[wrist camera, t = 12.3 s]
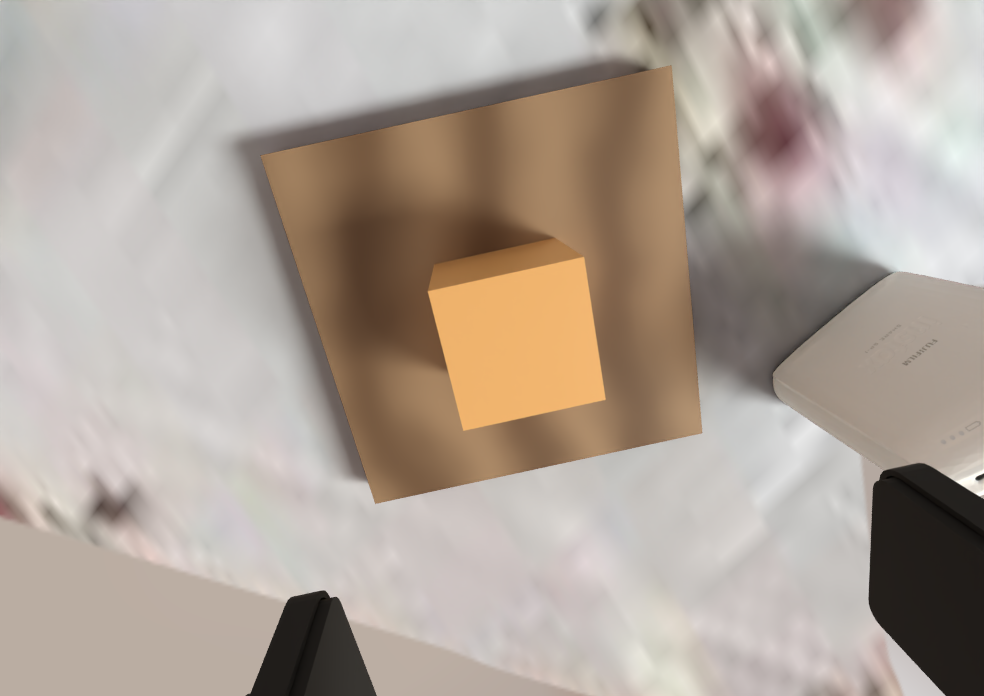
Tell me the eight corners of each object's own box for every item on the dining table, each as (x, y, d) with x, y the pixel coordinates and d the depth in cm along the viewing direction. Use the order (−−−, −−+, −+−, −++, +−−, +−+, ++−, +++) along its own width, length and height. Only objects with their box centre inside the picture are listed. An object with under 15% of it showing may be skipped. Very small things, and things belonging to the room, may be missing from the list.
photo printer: (897, 256, 31) (1168, 308, 19) (931, 307, 32) (1206, 385, 20) (756, 373, 33) (923, 485, 21) (793, 417, 34) (971, 546, 22)
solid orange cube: (555, 237, 27) (584, 256, 21) (574, 351, 29) (605, 399, 23) (434, 264, 27) (427, 291, 21) (461, 376, 29) (463, 430, 23)
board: (656, 72, 27) (721, 40, 20) (688, 418, 33) (745, 479, 27) (274, 156, 27) (214, 151, 20) (379, 484, 33) (361, 562, 27)
